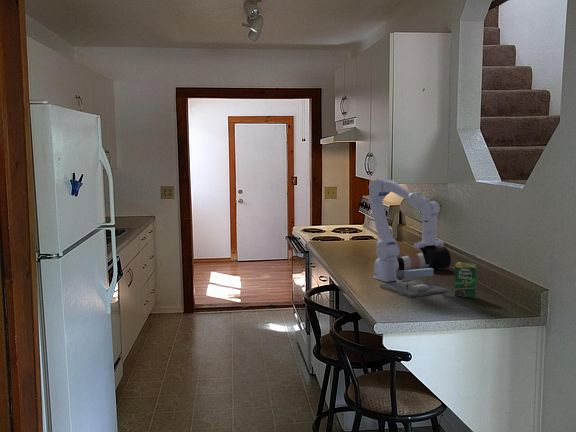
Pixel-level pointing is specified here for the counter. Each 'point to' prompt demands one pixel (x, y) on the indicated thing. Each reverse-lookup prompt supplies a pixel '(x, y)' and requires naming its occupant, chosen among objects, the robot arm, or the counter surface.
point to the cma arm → (414, 273)
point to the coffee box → (465, 280)
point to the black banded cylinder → (418, 261)
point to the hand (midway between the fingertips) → (428, 264)
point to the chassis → (413, 288)
